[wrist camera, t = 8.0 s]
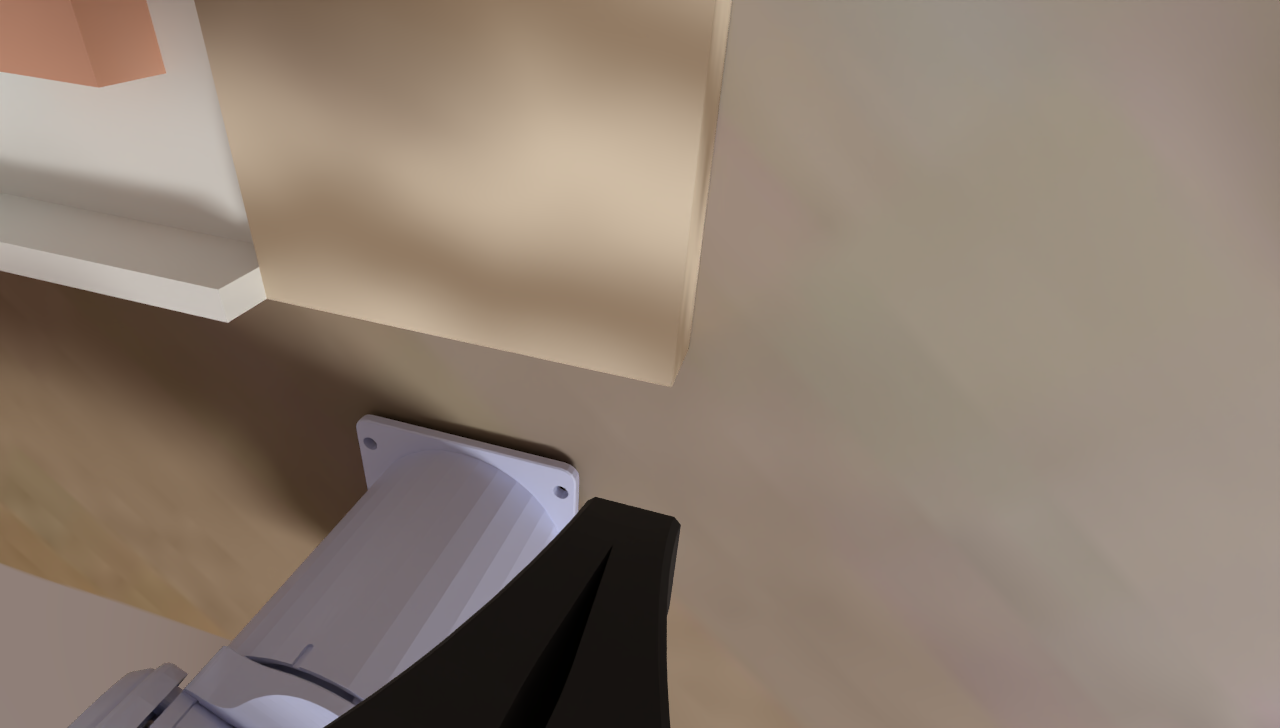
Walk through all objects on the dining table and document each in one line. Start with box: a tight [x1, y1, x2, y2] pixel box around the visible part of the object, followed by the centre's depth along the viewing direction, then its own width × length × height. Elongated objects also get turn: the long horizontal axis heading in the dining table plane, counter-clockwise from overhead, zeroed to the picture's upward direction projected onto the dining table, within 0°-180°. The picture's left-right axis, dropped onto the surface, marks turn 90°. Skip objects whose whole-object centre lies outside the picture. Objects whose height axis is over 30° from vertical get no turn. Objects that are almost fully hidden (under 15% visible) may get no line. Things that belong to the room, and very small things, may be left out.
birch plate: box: [194, 0, 732, 387], centre depth 16 cm, size 16×12×2 cm
